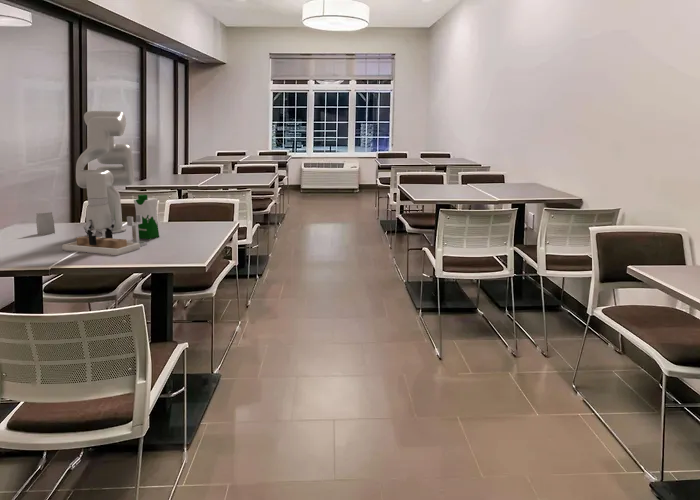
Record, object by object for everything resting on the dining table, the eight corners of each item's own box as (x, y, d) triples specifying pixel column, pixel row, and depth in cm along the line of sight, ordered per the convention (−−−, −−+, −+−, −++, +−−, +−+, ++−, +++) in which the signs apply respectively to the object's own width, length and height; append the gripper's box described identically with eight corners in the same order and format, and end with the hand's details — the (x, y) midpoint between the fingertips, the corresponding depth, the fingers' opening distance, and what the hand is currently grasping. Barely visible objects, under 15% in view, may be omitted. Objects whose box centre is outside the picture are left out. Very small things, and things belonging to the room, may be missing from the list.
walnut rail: (77, 247, 253) (76, 237, 252) (84, 245, 257) (83, 236, 256) (120, 250, 246) (119, 241, 246) (127, 249, 250) (126, 239, 249)
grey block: (55, 233, 289) (53, 212, 287) (39, 235, 284) (37, 214, 282) (52, 232, 291) (50, 211, 289) (37, 233, 287) (35, 213, 285)
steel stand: (94, 244, 263) (92, 214, 260) (105, 241, 269) (103, 212, 267) (137, 247, 256) (134, 217, 253) (147, 244, 263) (145, 214, 260)
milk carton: (134, 238, 276) (131, 195, 272) (146, 235, 284) (144, 193, 280) (150, 239, 273) (147, 195, 269) (162, 236, 281) (159, 193, 277)
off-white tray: (63, 250, 249) (62, 244, 249) (86, 244, 262) (86, 239, 262) (118, 255, 241) (117, 249, 240) (140, 248, 254) (139, 243, 253)
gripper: (105, 199, 257) (108, 238, 260) (74, 204, 241) (78, 246, 244) (119, 199, 254) (122, 239, 258) (90, 205, 238) (93, 247, 242)
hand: (101, 242), depth 251 cm, fingers open, 9 cm apart
